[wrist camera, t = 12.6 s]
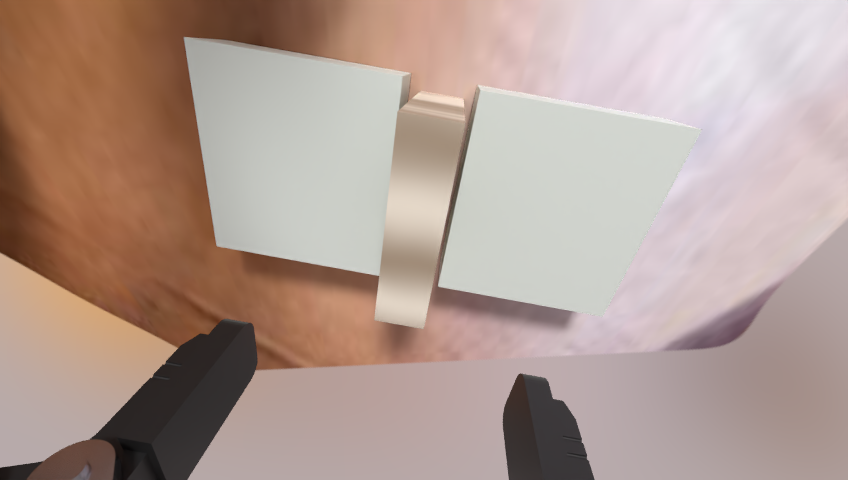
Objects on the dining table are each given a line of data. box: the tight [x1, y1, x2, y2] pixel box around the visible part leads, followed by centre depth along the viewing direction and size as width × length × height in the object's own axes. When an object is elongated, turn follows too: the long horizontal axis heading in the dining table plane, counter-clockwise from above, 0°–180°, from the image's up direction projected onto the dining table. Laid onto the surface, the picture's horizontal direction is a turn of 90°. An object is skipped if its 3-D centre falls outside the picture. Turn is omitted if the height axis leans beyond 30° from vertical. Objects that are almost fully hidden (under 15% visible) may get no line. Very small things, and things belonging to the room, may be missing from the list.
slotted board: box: [184, 37, 702, 317], centre depth 25 cm, size 14×30×4 cm, turn 81°
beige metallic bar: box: [374, 91, 466, 329], centre depth 22 cm, size 12×3×10 cm, turn 171°
